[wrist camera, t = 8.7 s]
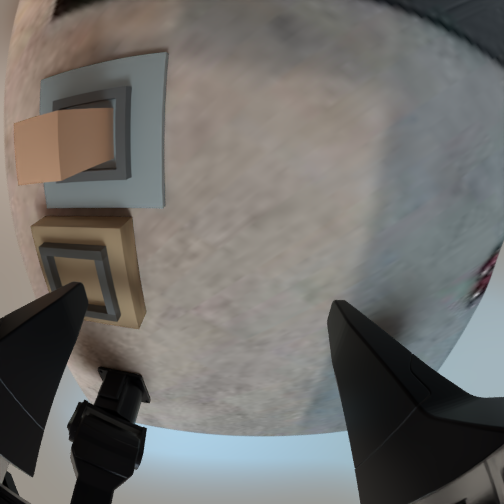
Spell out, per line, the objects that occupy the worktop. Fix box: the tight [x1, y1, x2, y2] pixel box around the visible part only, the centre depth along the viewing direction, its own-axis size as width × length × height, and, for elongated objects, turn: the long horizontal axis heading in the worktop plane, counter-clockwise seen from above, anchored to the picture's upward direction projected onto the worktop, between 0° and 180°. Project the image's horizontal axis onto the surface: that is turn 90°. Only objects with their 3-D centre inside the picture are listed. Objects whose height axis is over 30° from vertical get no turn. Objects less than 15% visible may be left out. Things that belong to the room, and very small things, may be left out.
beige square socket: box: [31, 216, 146, 329], centre depth 22 cm, size 10×10×4 cm
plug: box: [14, 108, 114, 186], centre depth 14 cm, size 4×4×7 cm
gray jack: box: [40, 52, 168, 208], centre depth 17 cm, size 12×12×2 cm
